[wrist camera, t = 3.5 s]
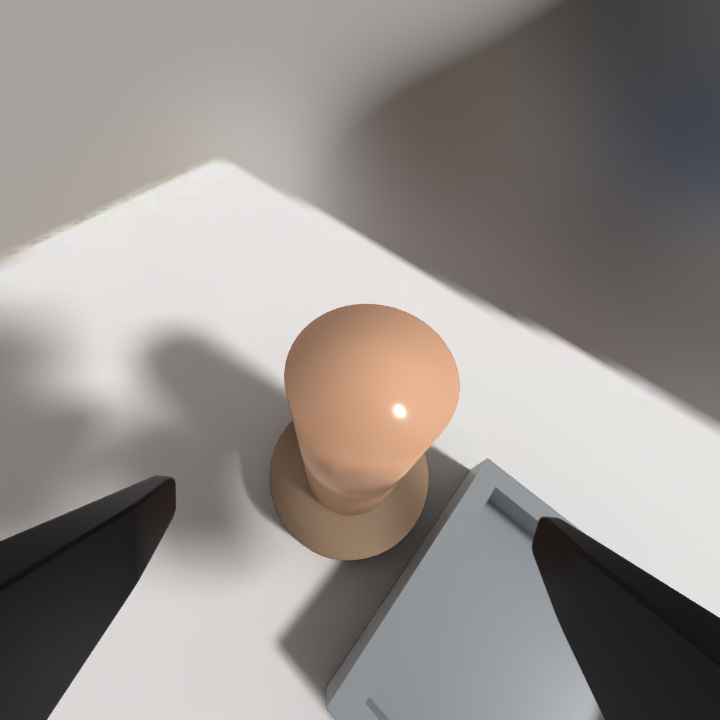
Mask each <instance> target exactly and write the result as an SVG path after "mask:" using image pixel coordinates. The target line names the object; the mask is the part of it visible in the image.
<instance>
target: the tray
mask: <svg viewBox="0 0 720 720" xmlns="http://www.w3.org/2000/svg"><path fill="white" fill-rule="evenodd" d="M543 516H549V517H557V518H560V519H562V520H564V521H565V522H567V523H568V524H570V525H572V526H573V527H575V526H574V525H573V524H572V523H570V522H569V521H568V520H566V519H565V518H564V517H563V516H561V515H560V514H559V513H557V512H556V511H555V510H554V509H552V508H551V507H550V506H548V505H547V504H546V503H545V502H543V501H542V500H541V499H539V498H538V497H537V496H536V495H534V494H533V493H532V492H531V491H529V490H528V489H527V488H525V487H524V486H523V485H522V484H520V483H519V482H518V481H516V480H515V479H514V478H513V477H511V476H510V475H509V474H507V473H506V472H505V471H504V470H502V469H501V468H500V467H498V466H497V465H496V464H495V463H493V462H492V461H491V460H489V459H488V458H487V459H486V460H484V461H483V462H481V463H480V464H478V465H477V466H475V467H474V468H472V469H471V470H470V471H469V472H468V474H467V475H466V477H465V479H464V480H463V482H462V483H461V485H460V486H459V488H458V489H457V491H456V492H455V494H454V495H453V497H452V498H451V500H450V501H449V503H448V504H447V506H446V507H445V509H444V510H443V512H442V513H441V515H440V516H439V518H438V519H437V521H436V522H435V524H434V525H433V527H432V528H431V530H430V531H429V533H428V534H427V536H426V537H425V539H424V540H423V542H422V543H421V545H420V546H419V548H418V549H417V551H416V552H415V554H414V555H413V557H412V558H411V560H410V561H409V563H408V564H407V566H406V567H405V569H404V570H403V572H402V573H401V575H400V577H399V578H398V580H397V581H396V583H395V584H394V586H393V587H392V589H391V590H390V592H389V593H388V595H387V596H386V598H385V599H384V601H383V602H382V604H381V605H380V607H379V608H378V610H377V611H376V613H375V614H374V616H373V617H372V619H371V620H370V622H369V623H368V625H367V626H366V628H365V629H364V631H363V632H362V634H361V635H360V637H359V638H358V640H357V641H356V643H355V644H354V646H353V647H352V649H351V650H350V652H349V653H348V655H347V656H346V658H345V659H344V661H343V662H342V664H341V665H340V667H339V668H338V670H337V671H336V673H335V674H334V676H333V678H332V679H331V681H330V682H329V684H328V685H327V687H326V709H327V710H328V712H329V713H330V714H331V715H332V717H333V718H334V719H335V720H604V717H603V715H602V713H601V711H600V709H599V707H598V705H597V703H596V701H595V698H594V696H593V694H592V692H591V690H590V688H589V686H588V684H587V682H586V679H585V677H584V675H583V673H582V671H581V669H580V667H579V665H578V663H577V660H576V658H575V656H574V654H573V652H572V650H571V648H570V646H569V644H568V641H567V639H566V637H565V635H564V633H563V631H562V628H561V626H560V624H559V622H558V619H557V617H556V614H555V612H554V609H553V607H552V604H551V601H550V599H549V596H548V593H547V590H546V588H545V585H544V582H543V580H542V577H541V574H540V572H539V569H538V566H537V564H536V561H535V558H534V556H533V552H532V541H533V538H534V535H535V531H536V528H537V524H538V521H539V519H540V518H541V517H543ZM575 528H576V529H578V528H577V527H575ZM578 530H579V529H578ZM580 531H581V530H580ZM581 532H582V531H581Z"/></svg>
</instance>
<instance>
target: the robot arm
mask: <svg viewBox="0 0 720 720" xmlns="http://www.w3.org/2000/svg"><path fill="white" fill-rule="evenodd" d="M175 509H176V484H175V480H174V478H172V477H167V476H154V477H151V478H149V479H147V480H144V481H142V482H139V483H137V484H135V485H132V486H130V487H128V488H125V489H123V490H120V491H118V492H116V493H113V494H111V495H109V496H106V497H104V498H102V499H99V500H97V501H94V502H92V503H90V504H87V505H85V506H83V507H80V508H78V509H75V510H73V511H71V512H68V513H66V514H64V515H61V516H59V517H57V518H54V519H52V520H49V521H47V522H45V523H42V524H40V525H38V526H35V527H33V528H30V529H28V530H26V531H23V532H21V533H19V534H16V535H14V536H12V537H9V538H7V539H4V540H2V541H0V720H47V719H48V717H49V716H50V714H51V713H52V711H53V710H54V708H55V707H56V705H57V704H58V702H59V701H60V699H61V698H62V696H63V695H64V693H65V692H66V690H67V689H68V687H69V686H70V684H71V683H72V681H73V680H74V678H75V677H76V675H77V673H78V672H79V670H80V669H81V667H82V666H83V664H84V663H85V661H86V660H87V658H88V657H89V655H90V654H91V652H92V651H93V649H94V648H95V646H96V645H97V643H98V642H99V640H100V639H101V637H102V636H103V634H104V633H105V631H106V630H107V628H108V627H109V625H110V624H111V622H112V621H113V619H114V618H115V616H116V615H117V613H118V612H119V610H120V609H121V607H122V606H123V604H124V603H125V601H126V600H127V598H128V597H129V595H130V594H131V592H132V590H133V589H134V587H135V586H136V584H137V583H138V581H139V579H140V577H141V576H142V574H143V572H144V570H145V568H146V567H147V565H148V563H149V561H150V559H151V557H152V555H153V554H154V552H155V550H156V548H157V546H158V544H159V542H160V541H161V539H162V537H163V535H164V533H165V531H166V529H167V528H168V526H169V524H170V522H171V520H172V518H173V516H174V513H175ZM532 552H533V556H534V558H535V561H536V564H537V566H538V569H539V572H540V574H541V577H542V580H543V582H544V585H545V588H546V590H547V593H548V596H549V599H550V601H551V604H552V607H553V609H554V612H555V614H556V617H557V619H558V622H559V624H560V626H561V628H562V631H563V633H564V635H565V637H566V639H567V641H568V644H569V646H570V648H571V650H572V652H573V654H574V656H575V658H576V660H577V663H578V665H579V667H580V669H581V671H582V673H583V675H584V677H585V679H586V682H587V684H588V686H589V688H590V690H591V692H592V694H593V696H594V698H595V701H596V703H597V705H598V707H599V709H600V711H601V713H602V715H603V717H604V720H720V618H719V617H717V616H716V615H714V614H713V613H711V612H709V611H708V610H706V609H705V608H703V607H701V606H700V605H698V604H697V603H695V602H693V601H692V600H690V599H689V598H687V597H685V596H684V595H682V594H681V593H679V592H677V591H676V590H674V589H673V588H671V587H669V586H668V585H666V584H665V583H663V582H661V581H660V580H658V579H657V578H655V577H653V576H652V575H650V574H649V573H647V572H645V571H644V570H642V569H641V568H639V567H637V566H636V565H634V564H633V563H631V562H629V561H628V560H626V559H625V558H623V557H621V556H620V555H618V554H617V553H615V552H613V551H612V550H610V549H609V548H607V547H605V546H604V545H602V544H601V543H599V542H597V541H596V540H594V539H592V538H591V537H589V536H588V535H586V534H584V533H583V532H581V531H580V530H578V529H576V528H575V527H573V526H572V525H570V524H568V523H567V522H565V521H564V520H562V519H560V518H557V517H549V516H543V517H541V518H540V519H539V521H538V524H537V528H536V531H535V535H534V538H533V541H532Z"/></svg>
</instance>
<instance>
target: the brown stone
mask: <svg viewBox="0 0 720 720" xmlns="http://www.w3.org/2000/svg"><path fill="white" fill-rule="evenodd" d="M428 485H429V473H428V464H427V460H426V455H425V452H424V454H423V455H422V456H421V457H420V458H419V459H418V460H417V462H416V463H415V464H414V465H413V466H412V467H411V469H410V470H409V471H408V472H407V473H406V474H405V476H404V477H403V478H402V479H401V480H400V481H399V483H398V484H397V485H396V486H395V487H394V488H393V489H392V491H391V492H390V493H389V494H388V495H387V496H386V498H385V499H384V500H383V501H382V502H381V503H380V504H379V505H378V506H377V507H376V508H374V509H372V510H371V511H369V512H366V513H364V514H360V515H354V516H347V515H341V514H337V513H334V512H332V511H330V510H328V509H327V508H325V507H324V506H323V505H322V504H321V503H320V502H319V501H318V500H317V499H316V498H315V496H314V495H313V493H312V491H311V489H310V486H309V483H308V479H307V475H306V471H305V467H304V463H303V459H302V455H301V451H300V447H299V443H298V439H297V435H296V431H295V427H294V423H293V421H292V422H291V423H290V424H289V425H288V427H287V428H286V429H285V431H284V432H283V434H282V435H281V437H280V439H279V441H278V443H277V445H276V448H275V450H274V453H273V457H272V461H271V468H270V488H271V495H272V499H273V502H274V506H275V508H276V511H277V513H278V515H279V517H280V519H281V521H282V522H283V524H284V526H285V527H286V528H287V529H288V531H289V532H290V533H291V534H292V535H293V536H294V537H295V538H296V539H297V540H298V541H299V542H300V543H301V544H303V545H304V546H306V547H307V548H308V549H310V550H311V551H313V552H315V553H317V554H319V555H321V556H324V557H328V558H331V559H336V560H358V559H365V558H369V557H372V556H375V555H378V554H381V553H383V552H385V551H387V550H389V549H390V548H392V547H393V546H394V545H396V544H397V543H399V542H400V541H401V540H402V539H403V538H404V537H405V536H406V535H407V534H408V533H409V532H410V530H411V529H412V528H413V527H414V525H415V523H416V522H417V520H418V518H419V517H420V515H421V512H422V510H423V507H424V505H425V501H426V497H427V492H428Z"/></svg>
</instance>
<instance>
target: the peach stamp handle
mask: <svg viewBox="0 0 720 720" xmlns="http://www.w3.org/2000/svg"><path fill="white" fill-rule="evenodd" d="M284 379H285V388H286V394H287V398H288V402H289V406H290V410H291V414H292V418H293V423H294V427H295V431H296V435H297V439H298V443H299V447H300V451H301V455H302V459H303V463H304V467H305V471H306V475H307V479H308V483H309V486H310V489H311V491H312V493H313V495H314V496H315V498H316V499H317V500H318V501H319V502H320V503H321V504H322V505H323V506H324V507H325V508H327V509H328V510H330V511H332V512H334V513H337V514H341V515H347V516H354V515H360V514H364V513H366V512H369V511H371V510H372V509H374V508H376V507H377V506H378V505H379V504H380V503H381V502H382V501H383V500H384V499H385V498H386V496H387V495H388V494H389V493H390V492H391V491H392V489H393V488H394V487H395V486H396V485H397V484H398V483H399V481H400V480H401V479H402V478H403V477H404V476H405V474H406V473H407V472H408V471H409V470H410V469H411V467H412V466H413V465H414V464H415V463H416V462H417V460H418V459H419V458H420V457H421V456H422V455H423V454H424V452H425V451H426V450H427V449H428V448H429V447H430V445H431V444H432V443H433V442H434V441H435V440H436V438H437V437H438V436H439V435H440V434H441V433H442V431H443V430H444V429H445V428H446V427H447V425H448V423H449V422H450V420H451V419H452V417H453V414H454V412H455V410H456V407H457V403H458V399H459V391H460V384H459V375H458V369H457V366H456V363H455V360H454V358H453V356H452V354H451V352H450V350H449V348H448V347H447V345H446V344H445V342H444V341H443V340H442V338H441V337H440V336H439V335H438V334H437V333H436V332H435V331H434V330H433V329H432V328H431V327H430V326H428V325H427V324H426V323H424V322H423V321H421V320H420V319H418V318H417V317H415V316H413V315H411V314H409V313H407V312H404V311H402V310H399V309H396V308H392V307H388V306H383V305H376V304H356V305H350V306H345V307H341V308H337V309H335V310H332V311H330V312H327V313H325V314H323V315H322V316H320V317H318V318H317V319H315V320H314V321H312V322H311V323H310V324H309V325H308V326H307V327H305V328H304V329H303V331H302V332H301V333H300V334H299V335H298V337H297V338H296V340H295V341H294V343H293V344H292V347H291V349H290V351H289V353H288V357H287V360H286V364H285V372H284Z"/></svg>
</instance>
